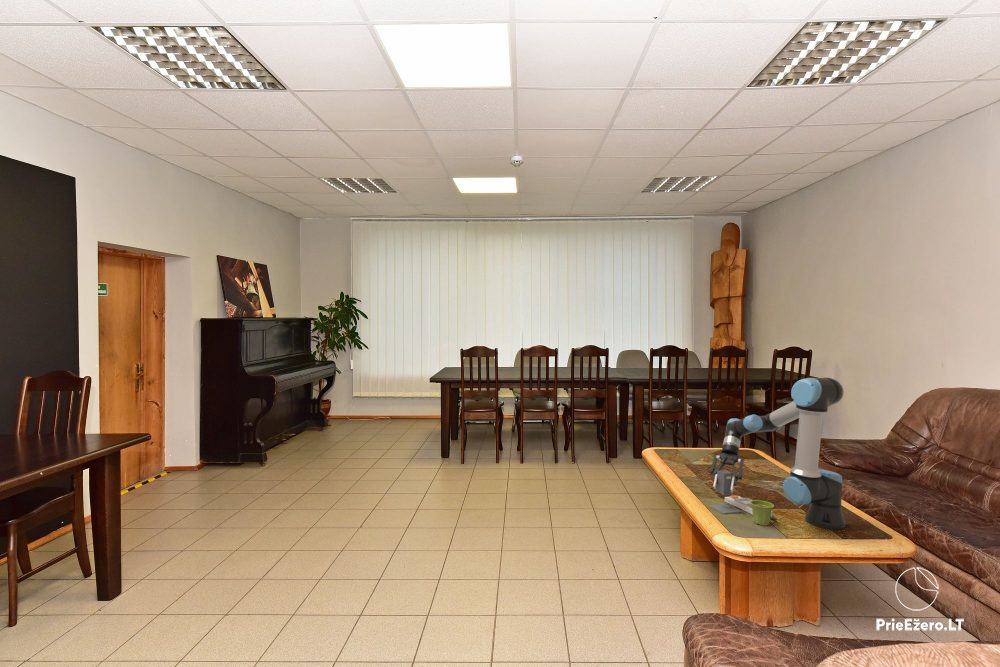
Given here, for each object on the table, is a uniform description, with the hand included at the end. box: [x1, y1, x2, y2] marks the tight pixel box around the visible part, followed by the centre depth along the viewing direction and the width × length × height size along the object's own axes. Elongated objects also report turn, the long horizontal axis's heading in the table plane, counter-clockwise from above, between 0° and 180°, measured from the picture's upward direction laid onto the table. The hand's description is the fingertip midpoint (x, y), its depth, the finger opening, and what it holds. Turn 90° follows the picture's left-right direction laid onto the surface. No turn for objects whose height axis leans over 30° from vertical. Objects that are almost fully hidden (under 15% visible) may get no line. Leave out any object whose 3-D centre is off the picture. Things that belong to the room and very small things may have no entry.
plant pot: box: [750, 499, 775, 526], centre depth 237 cm, size 9×9×9 cm
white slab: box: [724, 494, 778, 521], centre depth 253 cm, size 28×8×3 cm, turn 17°
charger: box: [716, 469, 734, 496], centre depth 253 cm, size 5×5×10 cm
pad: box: [708, 503, 743, 515], centre depth 253 cm, size 10×10×1 cm
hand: (722, 489), depth 251 cm, fingers closed on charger, 7 cm apart
